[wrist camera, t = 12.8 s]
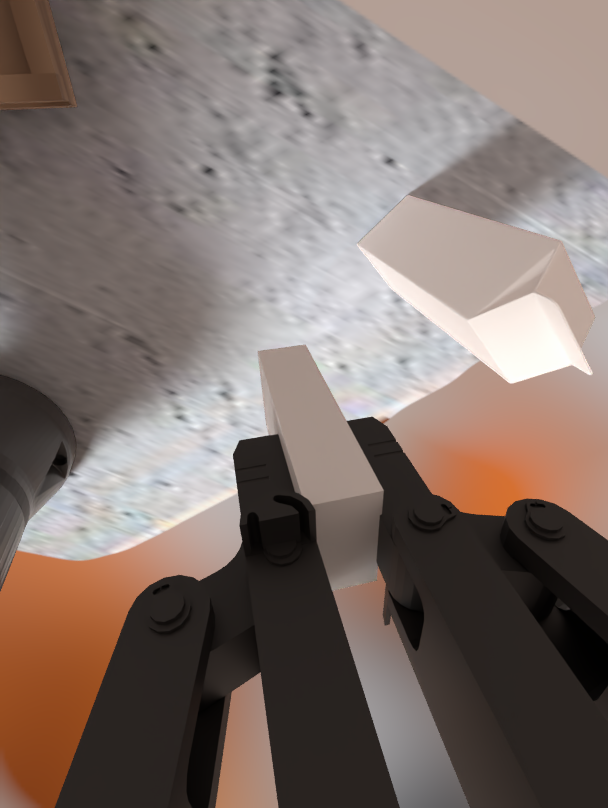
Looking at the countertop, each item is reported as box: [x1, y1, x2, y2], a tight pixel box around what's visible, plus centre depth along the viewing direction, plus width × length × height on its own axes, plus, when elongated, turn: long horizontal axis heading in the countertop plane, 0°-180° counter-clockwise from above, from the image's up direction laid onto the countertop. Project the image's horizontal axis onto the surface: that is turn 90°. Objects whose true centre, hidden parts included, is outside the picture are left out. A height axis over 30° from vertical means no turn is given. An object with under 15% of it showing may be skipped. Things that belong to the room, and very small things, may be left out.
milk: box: [357, 195, 595, 383], centre depth 30 cm, size 6×6×22 cm
